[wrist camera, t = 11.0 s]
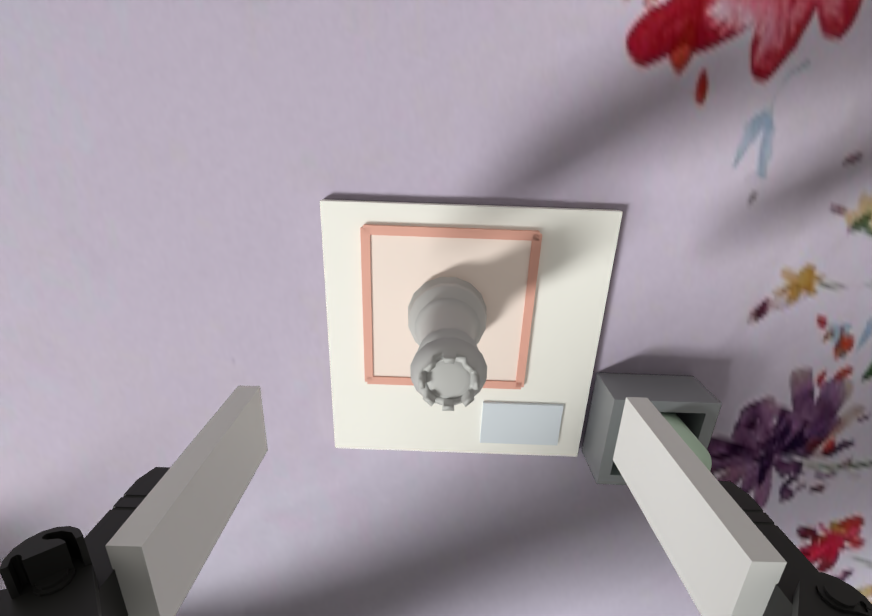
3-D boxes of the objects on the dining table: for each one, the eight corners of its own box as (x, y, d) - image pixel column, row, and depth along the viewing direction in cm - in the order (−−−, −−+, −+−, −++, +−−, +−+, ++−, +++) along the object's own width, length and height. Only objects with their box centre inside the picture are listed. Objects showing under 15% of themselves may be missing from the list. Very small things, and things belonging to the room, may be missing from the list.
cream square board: (337, 441, 29) (334, 450, 28) (322, 199, 24) (318, 201, 23) (574, 450, 29) (578, 459, 28) (618, 209, 23) (625, 212, 23)
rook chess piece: (475, 352, 26) (489, 439, 18) (401, 338, 26) (385, 420, 18) (494, 282, 24) (518, 346, 17) (416, 266, 24) (404, 323, 17)
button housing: (581, 450, 29) (596, 483, 26) (596, 372, 27) (614, 399, 24) (670, 454, 29) (695, 487, 26) (692, 376, 27) (721, 403, 24)
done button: (607, 454, 28) (629, 496, 24) (618, 400, 26) (644, 437, 23) (670, 456, 28) (701, 499, 24) (685, 402, 26) (720, 440, 23)
